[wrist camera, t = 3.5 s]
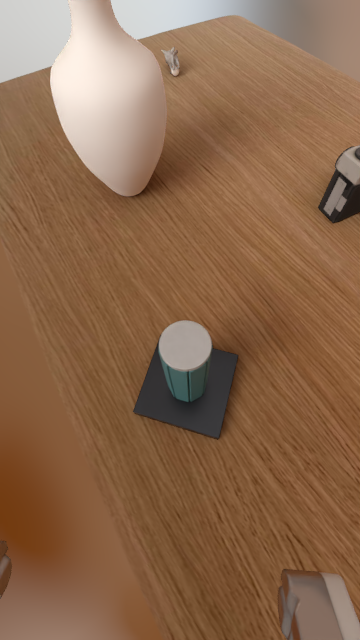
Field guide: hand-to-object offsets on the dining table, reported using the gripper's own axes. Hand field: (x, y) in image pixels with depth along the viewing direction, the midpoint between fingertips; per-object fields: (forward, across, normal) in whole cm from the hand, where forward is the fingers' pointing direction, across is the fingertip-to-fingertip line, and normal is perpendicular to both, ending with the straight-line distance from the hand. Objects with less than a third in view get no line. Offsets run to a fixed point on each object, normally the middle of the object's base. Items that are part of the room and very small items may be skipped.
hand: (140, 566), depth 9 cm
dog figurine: (+77, +8, -39) cm, 87 cm away
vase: (+51, +12, -14) cm, 54 cm away
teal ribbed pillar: (+26, 0, +9) cm, 27 cm away
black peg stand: (+27, 0, +10) cm, 28 cm away
